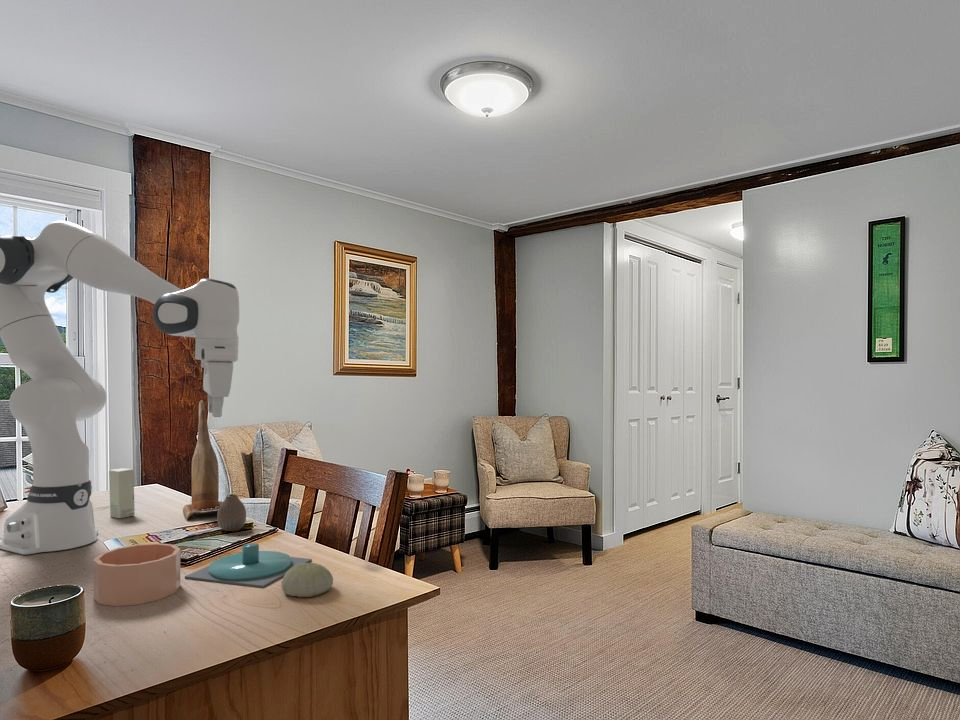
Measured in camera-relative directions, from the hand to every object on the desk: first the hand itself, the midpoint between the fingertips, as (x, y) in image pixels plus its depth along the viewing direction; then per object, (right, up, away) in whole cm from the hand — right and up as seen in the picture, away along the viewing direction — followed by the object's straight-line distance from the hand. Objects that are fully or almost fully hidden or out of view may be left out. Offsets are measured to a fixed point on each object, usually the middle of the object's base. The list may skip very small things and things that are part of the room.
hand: (214, 414), depth 145 cm
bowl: (-5, -31, -24) cm, 39 cm away
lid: (+12, -30, -11) cm, 34 cm away
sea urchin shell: (+27, -31, -23) cm, 47 cm away
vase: (-4, -31, +20) cm, 37 cm away
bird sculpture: (-17, -31, +36) cm, 51 cm away
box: (-39, -31, +34) cm, 61 cm away
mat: (+12, -31, -11) cm, 35 cm away
